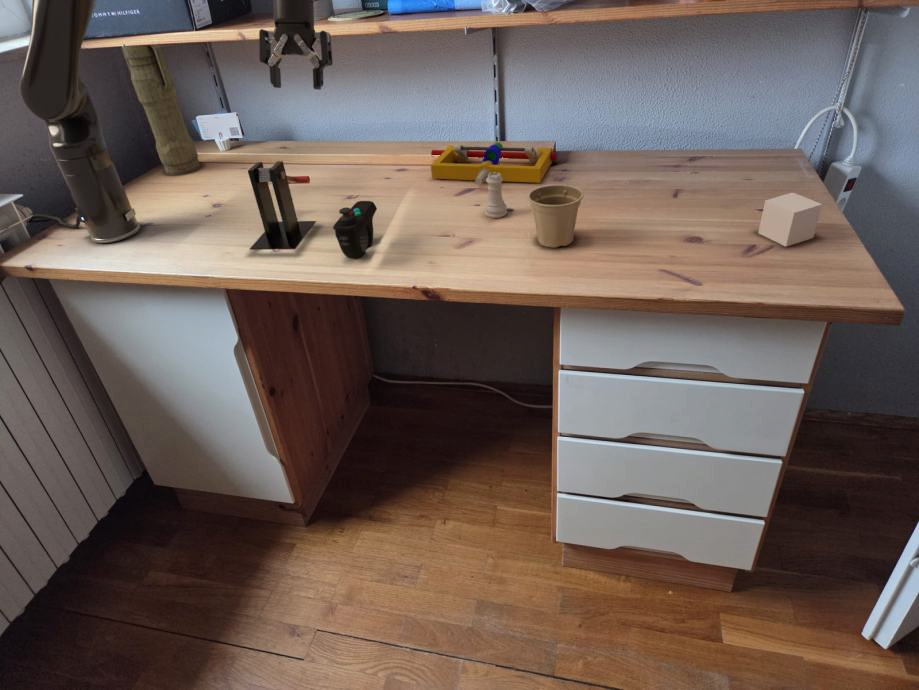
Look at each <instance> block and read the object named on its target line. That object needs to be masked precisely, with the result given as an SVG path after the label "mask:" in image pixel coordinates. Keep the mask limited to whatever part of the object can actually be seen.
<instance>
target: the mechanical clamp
mask: <svg viewBox="0 0 919 690" xmlns="http://www.w3.org/2000/svg"><path fill="white" fill-rule="evenodd" d="M553 151H554V149H553V148H552V147H537V148H536V149H535V148H534V146H532V145H531V146H529V145H526V146H525V147H504V146H503V145H502V143H501V142H498V141H497V142H494V143H493V144H491V145H489V146H463V145H462V144H453V145H450V144H449V145H447V146H446V149H432V150H431V151H430V155H431V156H432V155H440V156H439V157H437V158H436V159H435V160H434V161H433V163H431V164H430V171H431V178H432V179H442V180H464V181H465V180H468V181H474V183H475V184H476V185H477V186H480V185H481V184H482V183H487V182H486V179H487V177H488V176H487V175H489V173H492V175H493V172H496V175H497V173H500V174H501V177H502V178H503V180H502V182H514V183H515V182H516V183H517V182H518V183H537V184H538V183H541V181H542V180H543V178H544V176H545V174H546V173H547V171H548V169H549V168H550V166H551V165H552V164H553V161H557V159H558V153H557V152H553ZM468 157H478V158H477V159H482V162H481V163H462V161H469V160H470V158H468ZM483 157H484V158H483ZM502 157H503V158H508V159H507V160H528V162H529V163H535V164H534V165H513V164H512V165H511V164H500V160H501V158H502Z"/></svg>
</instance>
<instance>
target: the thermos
mask: <svg viewBox="0 0 919 690" xmlns="http://www.w3.org/2000/svg"><path fill="white" fill-rule="evenodd" d="M120 49H121V52H122V55H123V57H124V60H125V63H126V66H127V69H128V71H129V74H130V80H131V83H132V85H133V87H134V90H135V93H136V97H137V99H138V102H139V103H140V104H141V105H142V107H143V109H144V112H145V115H146V117H147V120H148V123H149V126H150V129H151V131H152V134H153V137H154V140H155V150H156V151H157V154H158V157H159V160H160V162H161V164H162V165H163V168H164V172H165V173H166V174H167V175H168V176H180V175H181V176H182V175H186V174H191V173H192V172H195V171H197V170H199V169H200V168H201V163H200V161H199V158H198V157H199V155H198V152H197V147H196V146H195V143H194V140H193V138H192V137H191V135H190V134H189V131H188V128H187V125H186V122H185V120H184V117H183V113H182V110H181V107H180V105H179V102H178V101H179V100H178V92H177V89H176V86H175V83H174V80H173V76H172V74H171V71H170V69H169V65H168V62H167V60H166V56H165V53H164V50H163V47H162V46H161V44H160V43H159V44H157V45H142V46H126V47H120Z"/></svg>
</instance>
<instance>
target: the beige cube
mask: <svg viewBox="0 0 919 690" xmlns="http://www.w3.org/2000/svg"><path fill="white" fill-rule="evenodd" d="M822 208H823V203H821V202H817V201H815V200H813V199H810V198H808V197H806V196H803V195H801V194H797V193H796V192H790V193H785V194H782V195H778V196H776V197H772V198H769V199H766V200H764V206H763V208H762V209H763V210H762V214H761V219H760V224H759V228H758V232H757V233H758V235H761V236H763V237H765V238H767V239H769V240H771V241H774V242H776V243H778V244H780V245H781V246H784V247H790V246H792V245H795V244H799V243H802V242H805V241H808V240H812V239H814V236H815V233H816V229H817V227H818V222H819V218H820V216H821V215H820V214H821V212H822Z"/></svg>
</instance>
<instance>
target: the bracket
mask: <svg viewBox="0 0 919 690" xmlns="http://www.w3.org/2000/svg"><path fill="white" fill-rule="evenodd" d="M263 163H264V162H263V161H257V162H256V163H255V164H253V166H251V167H250V168H248V170H247V173H248V176H249V180H250V185H251V188H252V191H253V194H254V198H255V201H256V205H257V209H258V213H259V215H260V219H261V223H262V226H263V229H264V232H262V234H261V235H260V236H259V238H257V239H256V241H255V242H254V243H253V244H252V245H251V247H249V251H250V250H251V251H253V250H254V251H255V250H261V251H262V250H296V249H297V248H298V246H299V245H300V243H301V242H302V241H303V239H304V238H305V237H306V236H307V234H308V233H309V232H310V230H311V229H312V228H313V226H314V225H315V224H316V222H317V220H298V216H297V212H296V208H295V205H294V201H293V200H294V199H293V195H292V193H291V188H290V184H288V180H287V176H288V175H287V173H286V168H285V165H284V161H283V160H280V161H279V160H278V161H276V163H274V164H273V165H272V166H271V167H269V168H270V169H269V173H270V177H271V181H272V183H271V184H272V189H273V192H274V195H275V196H274V197H275V199H276V200H275V201H276V203H277V207H278V211H279V214H280V218H281V221H279V219H278V216H277V215H278V214H277V211H276V208H275V204H274V200H273V197H272V193H271V190H270V185H269V183H263V182H259V171H258V168H265V167H264V164H263ZM286 175H287V176H286Z"/></svg>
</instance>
